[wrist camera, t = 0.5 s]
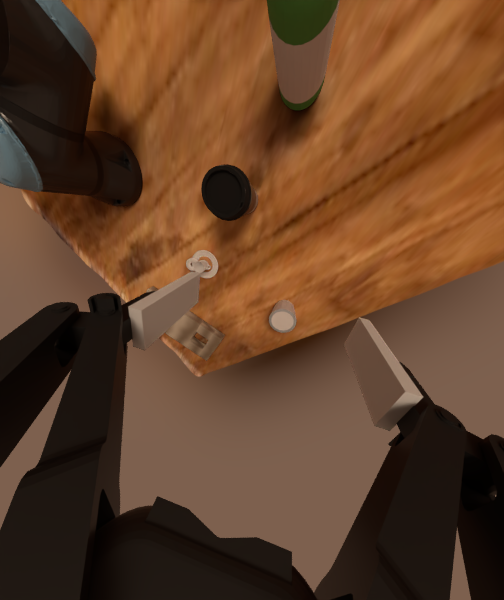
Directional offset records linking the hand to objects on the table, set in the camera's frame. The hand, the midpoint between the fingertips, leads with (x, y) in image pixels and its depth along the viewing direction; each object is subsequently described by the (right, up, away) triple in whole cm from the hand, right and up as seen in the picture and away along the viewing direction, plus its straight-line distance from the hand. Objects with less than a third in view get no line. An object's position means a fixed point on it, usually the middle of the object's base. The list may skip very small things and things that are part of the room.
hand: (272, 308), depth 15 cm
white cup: (+8, -2, +37) cm, 38 cm away
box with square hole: (-25, -7, +47) cm, 54 cm away
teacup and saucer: (-16, +14, +36) cm, 42 cm away
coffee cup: (-3, +24, +28) cm, 37 cm away
